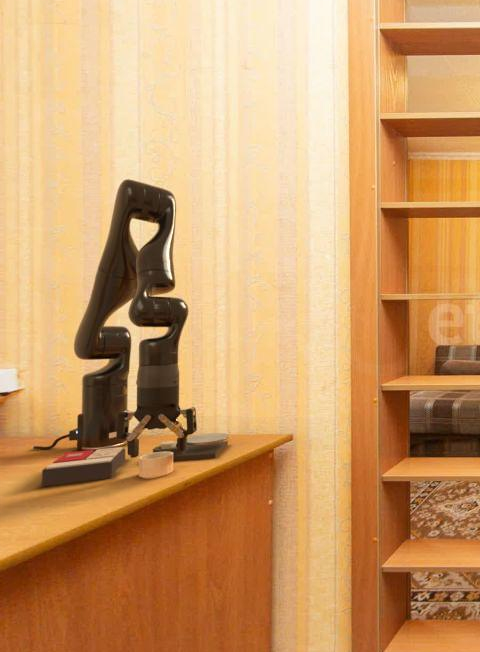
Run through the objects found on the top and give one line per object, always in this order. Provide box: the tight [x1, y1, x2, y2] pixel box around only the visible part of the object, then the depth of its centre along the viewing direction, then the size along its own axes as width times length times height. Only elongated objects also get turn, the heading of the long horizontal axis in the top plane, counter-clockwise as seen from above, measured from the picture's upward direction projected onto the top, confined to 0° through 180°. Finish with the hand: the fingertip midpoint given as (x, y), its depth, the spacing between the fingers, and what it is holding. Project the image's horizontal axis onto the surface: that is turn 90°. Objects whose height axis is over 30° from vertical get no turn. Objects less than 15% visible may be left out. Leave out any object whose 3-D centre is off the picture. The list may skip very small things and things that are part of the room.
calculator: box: [41, 446, 126, 488], centre depth 100 cm, size 11×4×15 cm
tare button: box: [160, 440, 177, 449], centre depth 111 cm, size 3×3×2 cm
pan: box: [187, 432, 230, 445], centre depth 118 cm, size 10×10×1 cm
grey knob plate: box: [152, 440, 229, 462], centre depth 115 cm, size 14×12×3 cm
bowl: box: [138, 452, 174, 480], centre depth 99 cm, size 6×6×4 cm
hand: (157, 455), depth 99 cm, fingers open, 8 cm apart
